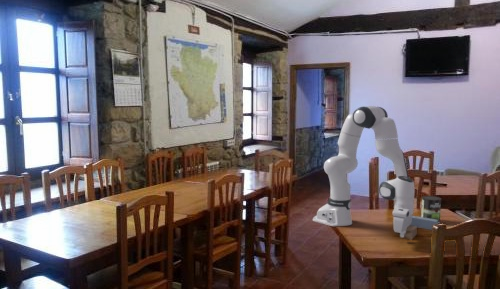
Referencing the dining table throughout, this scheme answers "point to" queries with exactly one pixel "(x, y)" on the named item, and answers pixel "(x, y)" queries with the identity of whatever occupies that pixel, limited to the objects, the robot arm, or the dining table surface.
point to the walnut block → (410, 232)
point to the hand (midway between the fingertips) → (402, 236)
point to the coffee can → (431, 207)
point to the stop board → (423, 222)
